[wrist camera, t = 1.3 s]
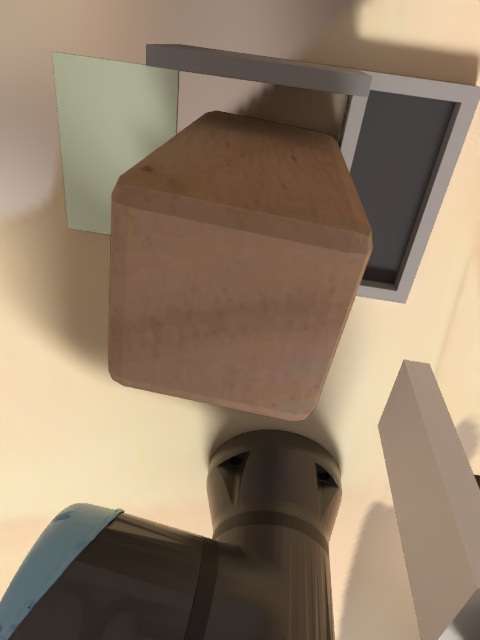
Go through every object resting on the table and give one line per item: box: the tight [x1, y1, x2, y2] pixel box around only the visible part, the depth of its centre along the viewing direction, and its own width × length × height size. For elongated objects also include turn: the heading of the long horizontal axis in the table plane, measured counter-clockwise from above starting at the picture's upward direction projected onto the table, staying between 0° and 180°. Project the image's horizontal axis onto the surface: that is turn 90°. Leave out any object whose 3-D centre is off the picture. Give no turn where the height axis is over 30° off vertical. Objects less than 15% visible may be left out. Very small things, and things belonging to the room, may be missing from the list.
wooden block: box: [108, 111, 373, 421], centre depth 27 cm, size 10×10×20 cm
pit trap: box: [339, 69, 480, 303], centre depth 34 cm, size 16×8×2 cm, turn 174°
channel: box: [146, 44, 372, 97], centre depth 31 cm, size 16×12×8 cm
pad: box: [52, 52, 179, 235], centre depth 35 cm, size 13×9×1 cm
